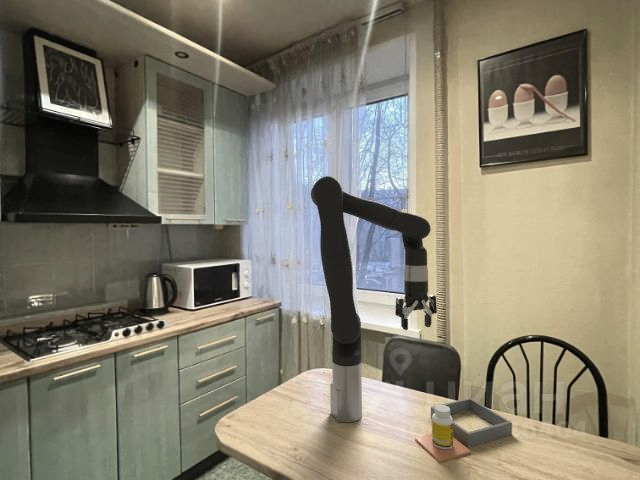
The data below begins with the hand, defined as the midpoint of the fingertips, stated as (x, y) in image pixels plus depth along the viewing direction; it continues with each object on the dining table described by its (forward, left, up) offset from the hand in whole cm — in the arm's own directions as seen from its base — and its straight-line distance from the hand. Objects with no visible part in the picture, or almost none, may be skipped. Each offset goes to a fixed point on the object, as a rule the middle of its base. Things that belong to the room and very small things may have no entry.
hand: (416, 328), depth 112 cm
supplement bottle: (-6, -20, -26) cm, 33 cm away
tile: (-6, -20, -26) cm, 33 cm away
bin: (+8, -15, -26) cm, 31 cm away
